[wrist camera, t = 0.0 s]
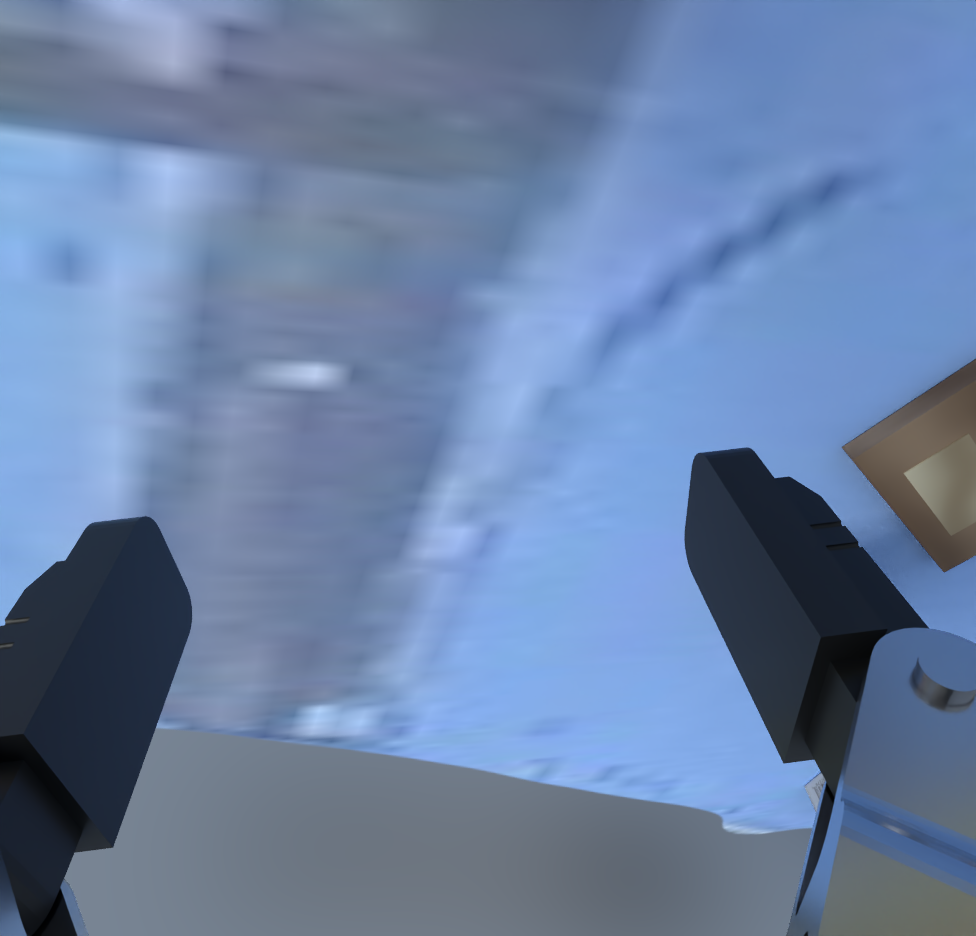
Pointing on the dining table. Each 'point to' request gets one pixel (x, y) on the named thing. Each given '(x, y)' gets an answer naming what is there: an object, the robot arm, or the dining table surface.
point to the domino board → (929, 466)
